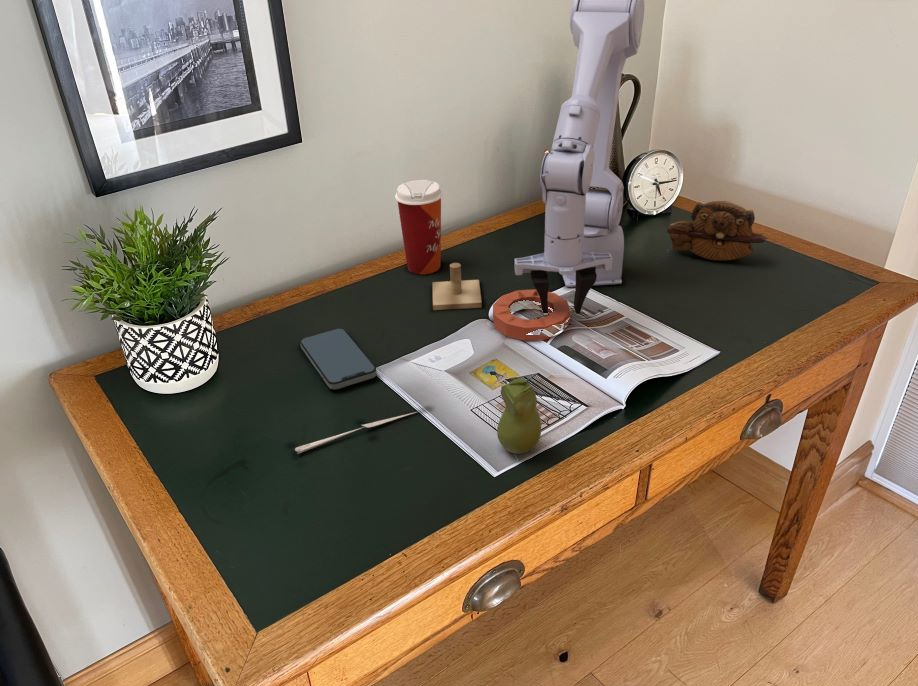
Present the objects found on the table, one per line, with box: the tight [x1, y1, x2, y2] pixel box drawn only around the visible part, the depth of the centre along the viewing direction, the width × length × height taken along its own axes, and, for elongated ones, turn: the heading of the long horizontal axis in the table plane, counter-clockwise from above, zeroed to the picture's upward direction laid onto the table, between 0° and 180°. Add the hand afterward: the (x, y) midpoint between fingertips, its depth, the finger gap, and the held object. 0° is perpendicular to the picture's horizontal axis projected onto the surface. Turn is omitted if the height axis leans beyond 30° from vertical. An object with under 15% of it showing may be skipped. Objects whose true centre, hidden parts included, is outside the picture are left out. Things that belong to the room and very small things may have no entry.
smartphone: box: [299, 328, 378, 390], centre depth 118 cm, size 8×2×15 cm
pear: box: [496, 378, 542, 455], centre depth 97 cm, size 6×5×10 cm
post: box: [431, 262, 483, 311], centre depth 131 cm, size 8×8×6 cm
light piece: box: [294, 410, 420, 455], centre depth 104 cm, size 4×1×19 cm
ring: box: [492, 288, 571, 342], centre depth 124 cm, size 12×12×2 cm
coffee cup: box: [394, 179, 444, 275], centre depth 138 cm, size 8×8×15 cm
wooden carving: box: [666, 200, 768, 262], centre depth 136 cm, size 16×5×10 cm, turn 68°
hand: (560, 311), depth 124 cm, fingers open, 4 cm apart
